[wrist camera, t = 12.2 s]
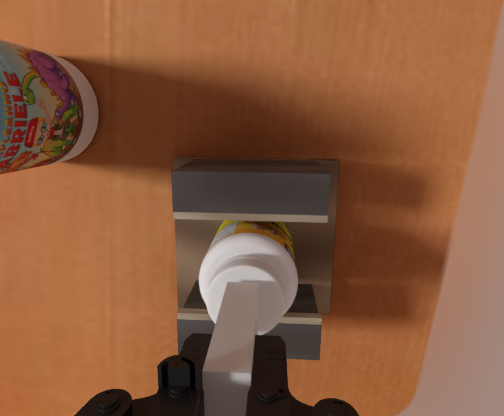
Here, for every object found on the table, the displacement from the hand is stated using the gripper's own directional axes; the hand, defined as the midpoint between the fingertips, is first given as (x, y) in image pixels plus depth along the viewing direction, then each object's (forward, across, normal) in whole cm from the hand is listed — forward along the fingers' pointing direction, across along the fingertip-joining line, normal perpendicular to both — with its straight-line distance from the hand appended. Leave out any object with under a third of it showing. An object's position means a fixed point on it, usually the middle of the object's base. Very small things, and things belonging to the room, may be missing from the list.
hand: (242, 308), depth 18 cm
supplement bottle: (+11, 0, 0) cm, 11 cm away
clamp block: (+12, 0, 0) cm, 12 cm away
